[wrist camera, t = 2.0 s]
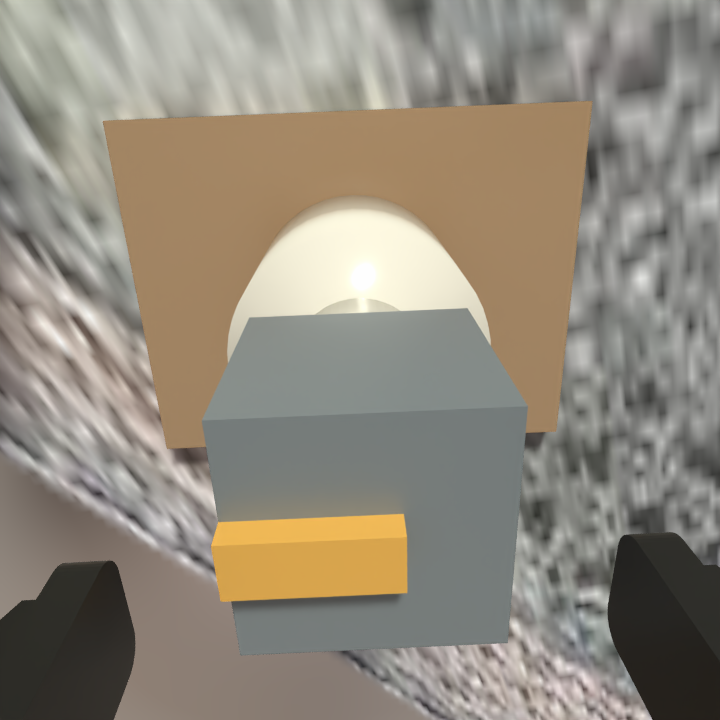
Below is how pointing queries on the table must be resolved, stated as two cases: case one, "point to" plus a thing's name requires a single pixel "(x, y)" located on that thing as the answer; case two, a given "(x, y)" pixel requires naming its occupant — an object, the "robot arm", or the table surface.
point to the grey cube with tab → (365, 482)
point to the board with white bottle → (351, 232)
